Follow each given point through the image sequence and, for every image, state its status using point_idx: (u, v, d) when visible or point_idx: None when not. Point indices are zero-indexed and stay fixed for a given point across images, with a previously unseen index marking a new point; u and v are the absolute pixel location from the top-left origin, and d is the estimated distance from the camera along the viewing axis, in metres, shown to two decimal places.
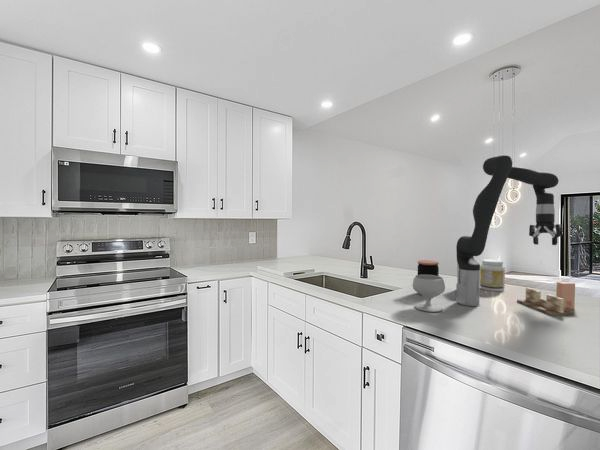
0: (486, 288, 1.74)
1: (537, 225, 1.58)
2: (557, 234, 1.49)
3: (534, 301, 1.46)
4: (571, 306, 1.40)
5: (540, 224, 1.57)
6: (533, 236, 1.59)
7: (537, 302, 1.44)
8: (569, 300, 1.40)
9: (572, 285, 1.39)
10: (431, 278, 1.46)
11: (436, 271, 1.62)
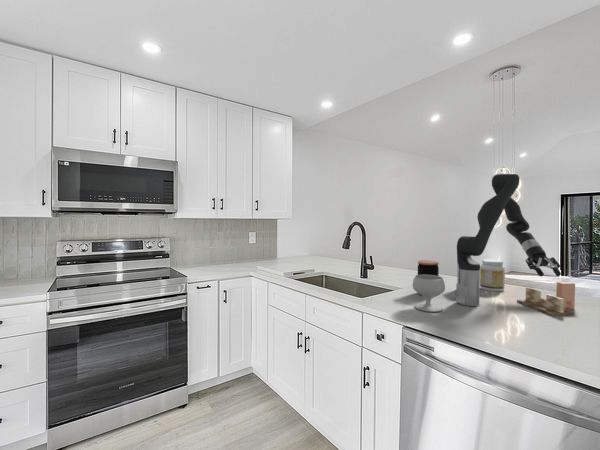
0: (486, 288, 1.74)
1: (535, 258, 1.55)
2: (558, 265, 1.52)
3: (534, 301, 1.46)
4: (571, 306, 1.40)
5: (537, 257, 1.55)
6: (538, 267, 1.51)
7: (537, 302, 1.44)
8: (569, 300, 1.40)
9: (572, 285, 1.39)
10: (431, 278, 1.46)
11: (436, 271, 1.62)
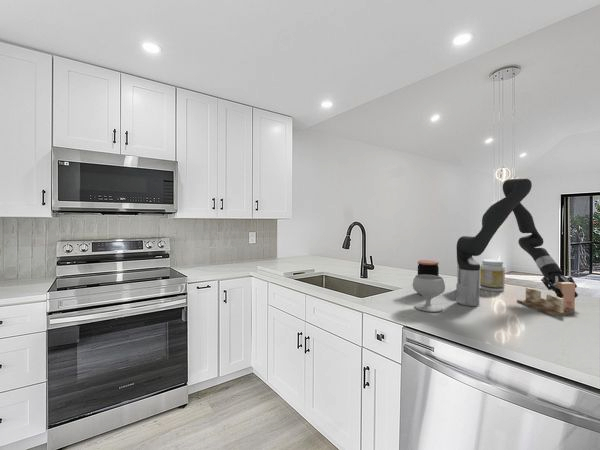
0: (486, 288, 1.74)
1: (550, 276, 1.46)
2: (575, 285, 1.42)
3: (534, 301, 1.46)
4: (571, 306, 1.40)
5: (553, 275, 1.46)
6: (557, 287, 1.41)
7: (537, 302, 1.44)
8: (569, 300, 1.40)
9: (572, 285, 1.39)
10: (431, 278, 1.46)
11: (436, 271, 1.62)
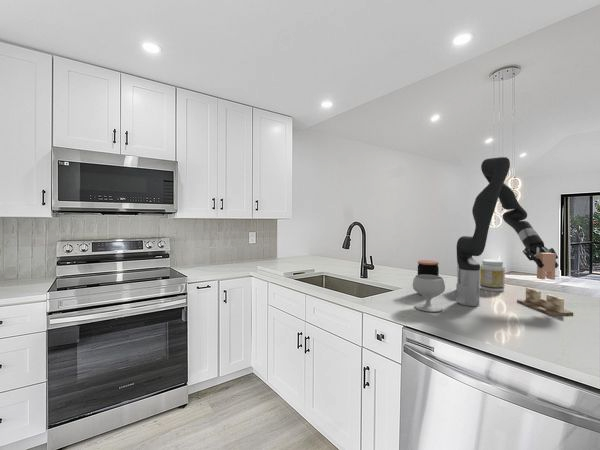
0: (486, 288, 1.74)
1: (532, 247, 1.45)
2: (556, 256, 1.41)
3: (534, 301, 1.46)
4: (552, 277, 1.39)
5: (534, 246, 1.45)
6: (538, 257, 1.41)
7: (537, 302, 1.44)
8: (549, 270, 1.39)
9: (553, 255, 1.39)
10: (431, 278, 1.46)
11: (436, 271, 1.62)
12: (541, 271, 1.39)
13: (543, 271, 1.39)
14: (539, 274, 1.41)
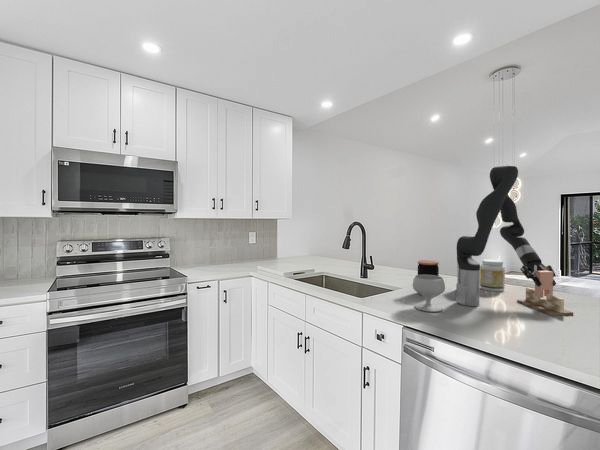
0: (486, 288, 1.74)
1: (529, 265, 1.46)
2: (553, 274, 1.42)
3: (534, 301, 1.46)
4: None
5: (532, 264, 1.46)
6: (535, 276, 1.41)
7: (537, 302, 1.44)
8: (547, 288, 1.40)
9: (550, 273, 1.39)
10: (431, 278, 1.46)
11: (436, 271, 1.62)
12: (539, 289, 1.40)
13: (541, 289, 1.40)
14: (537, 292, 1.41)
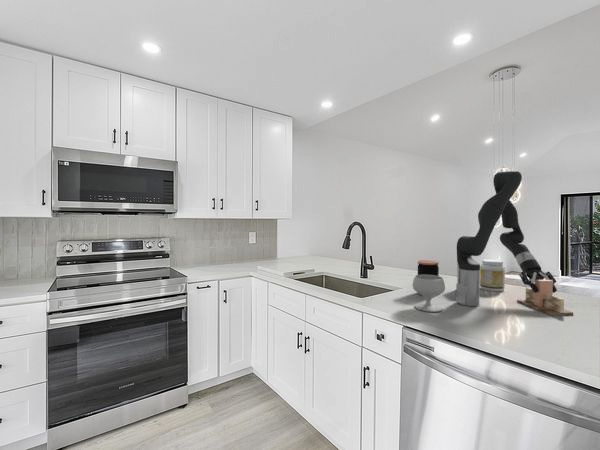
0: (486, 288, 1.74)
1: (529, 272, 1.46)
2: (554, 280, 1.42)
3: None
4: None
5: (532, 271, 1.46)
6: (532, 282, 1.42)
7: None
8: None
9: (550, 282, 1.40)
10: (431, 278, 1.46)
11: (436, 271, 1.62)
12: (538, 298, 1.40)
13: (540, 298, 1.40)
14: (536, 301, 1.42)
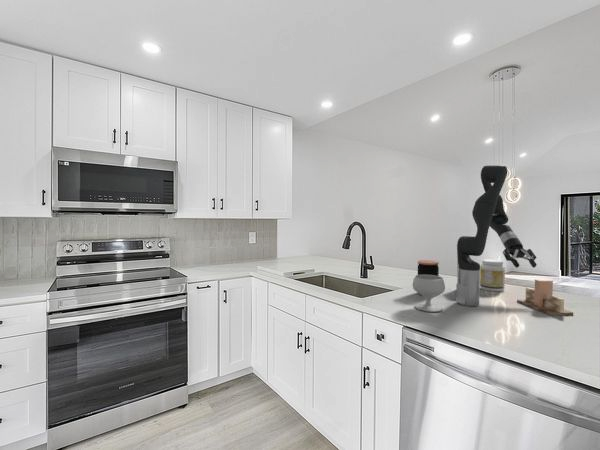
0: (486, 288, 1.74)
1: (512, 249, 1.58)
2: (534, 256, 1.54)
3: None
4: None
5: (514, 248, 1.58)
6: (514, 258, 1.53)
7: None
8: None
9: (550, 282, 1.40)
10: (431, 278, 1.46)
11: (436, 271, 1.62)
12: (538, 298, 1.40)
13: (540, 298, 1.40)
14: (536, 301, 1.42)
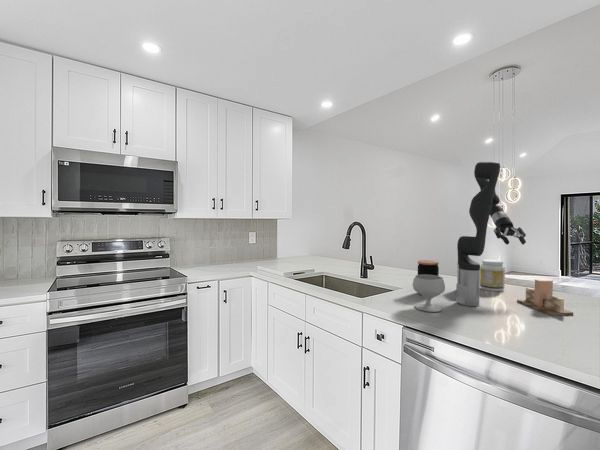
0: (486, 288, 1.74)
1: (502, 228, 1.64)
2: (524, 234, 1.61)
3: None
4: None
5: (505, 227, 1.64)
6: (504, 235, 1.60)
7: None
8: None
9: (550, 282, 1.40)
10: (431, 278, 1.46)
11: (436, 271, 1.62)
12: (538, 298, 1.40)
13: (540, 298, 1.40)
14: (536, 301, 1.42)
